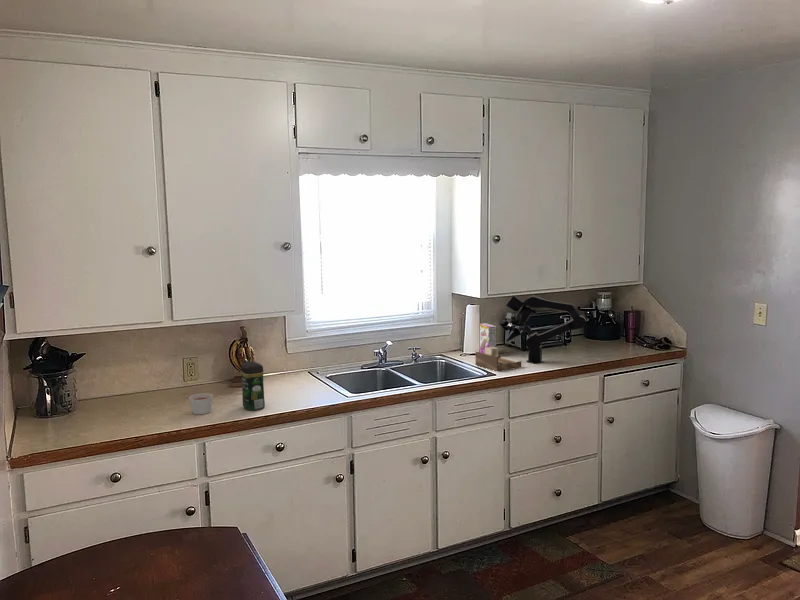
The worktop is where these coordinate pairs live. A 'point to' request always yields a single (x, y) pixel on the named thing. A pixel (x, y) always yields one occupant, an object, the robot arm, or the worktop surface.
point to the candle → (201, 403)
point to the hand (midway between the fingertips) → (506, 340)
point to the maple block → (491, 351)
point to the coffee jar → (252, 385)
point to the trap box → (495, 362)
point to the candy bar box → (487, 336)
